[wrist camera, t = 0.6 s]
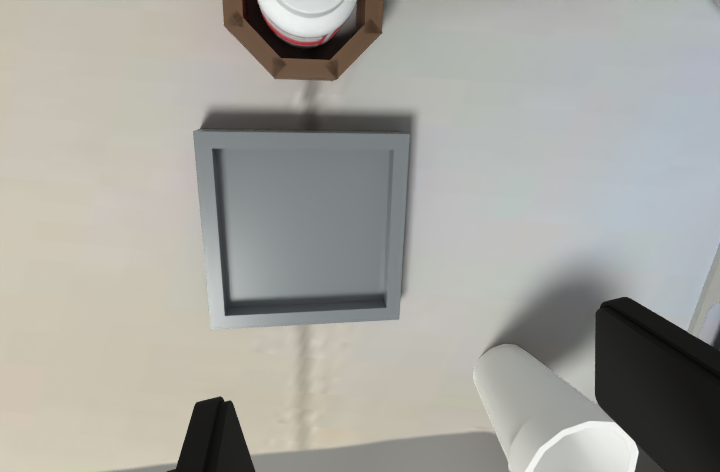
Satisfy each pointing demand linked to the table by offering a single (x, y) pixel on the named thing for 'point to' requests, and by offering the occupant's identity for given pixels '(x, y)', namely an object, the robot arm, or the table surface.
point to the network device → (707, 297)
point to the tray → (301, 225)
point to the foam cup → (547, 418)
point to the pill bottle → (305, 20)
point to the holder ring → (306, 69)
